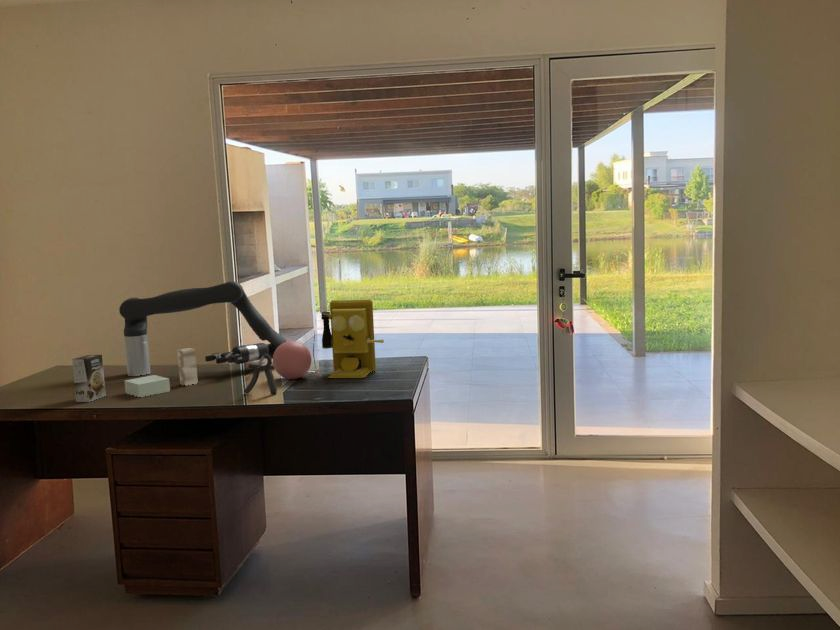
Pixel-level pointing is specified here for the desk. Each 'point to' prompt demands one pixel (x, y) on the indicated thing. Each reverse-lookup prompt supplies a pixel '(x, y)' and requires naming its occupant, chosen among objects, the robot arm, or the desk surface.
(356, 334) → the vintage telephone
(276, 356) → the balloon
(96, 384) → the coffee box
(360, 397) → the desk surface
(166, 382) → the base block
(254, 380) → the hand grip strengthener
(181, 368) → the ash pillar
